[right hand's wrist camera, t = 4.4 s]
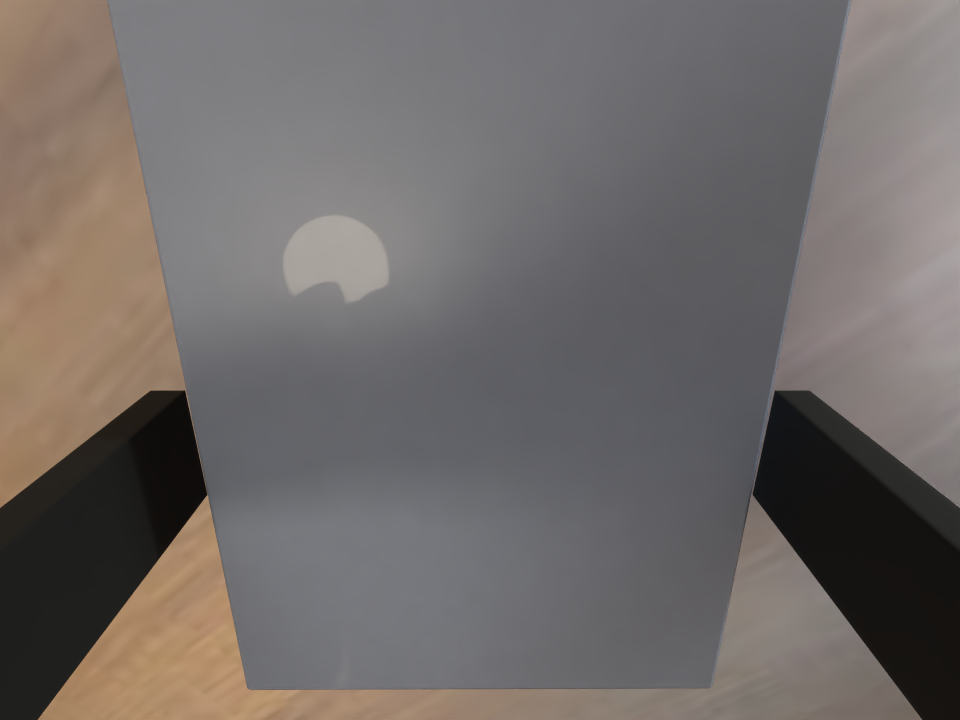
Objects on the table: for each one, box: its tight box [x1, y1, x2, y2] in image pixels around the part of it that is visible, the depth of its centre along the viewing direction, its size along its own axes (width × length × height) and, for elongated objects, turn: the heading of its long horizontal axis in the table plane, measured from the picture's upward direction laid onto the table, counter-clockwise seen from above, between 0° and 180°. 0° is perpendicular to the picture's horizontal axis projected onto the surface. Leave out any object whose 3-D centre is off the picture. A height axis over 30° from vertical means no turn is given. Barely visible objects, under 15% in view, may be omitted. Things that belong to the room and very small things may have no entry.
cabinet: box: [107, 0, 851, 690], centre depth 14 cm, size 16×10×10 cm, turn 0°
